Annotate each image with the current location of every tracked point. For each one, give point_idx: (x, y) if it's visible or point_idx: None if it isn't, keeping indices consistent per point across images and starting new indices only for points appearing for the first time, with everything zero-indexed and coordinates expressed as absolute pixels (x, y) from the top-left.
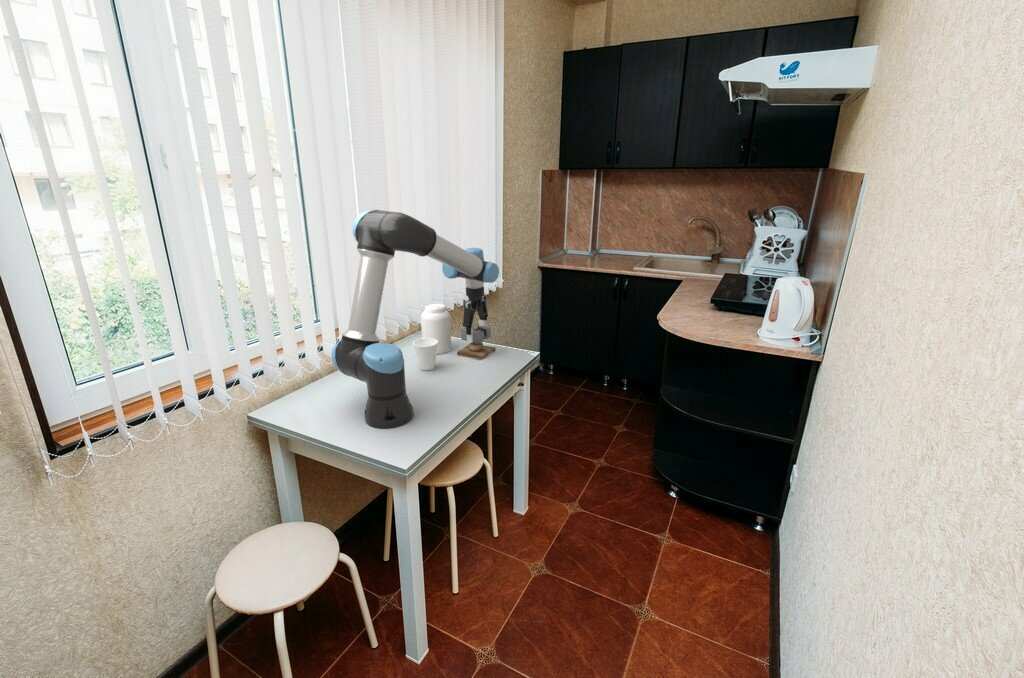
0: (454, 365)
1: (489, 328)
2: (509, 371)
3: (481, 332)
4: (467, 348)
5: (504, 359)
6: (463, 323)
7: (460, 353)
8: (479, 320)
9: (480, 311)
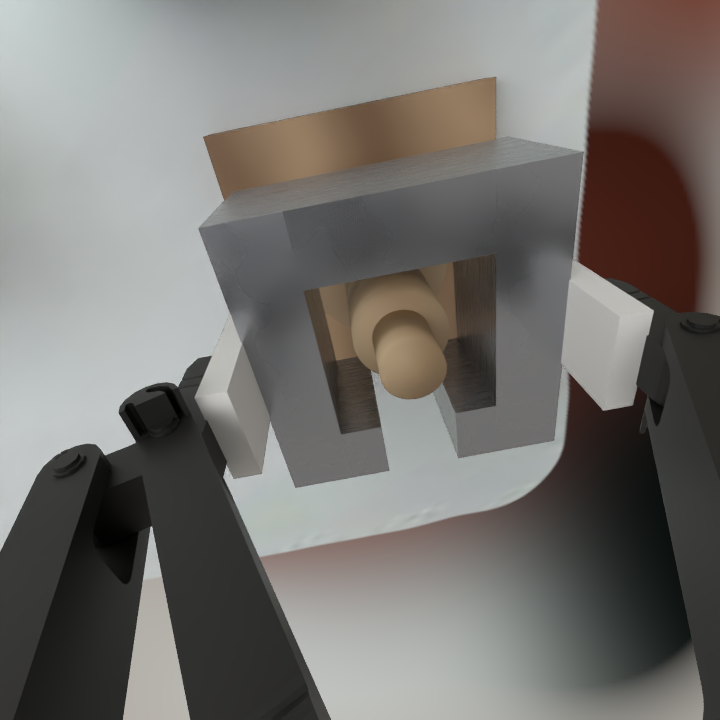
0: (61, 289)
1: (524, 437)
2: (281, 537)
3: (338, 478)
4: (340, 163)
5: (391, 445)
6: (31, 513)
7: (220, 183)
8: (615, 330)
9: (693, 563)
